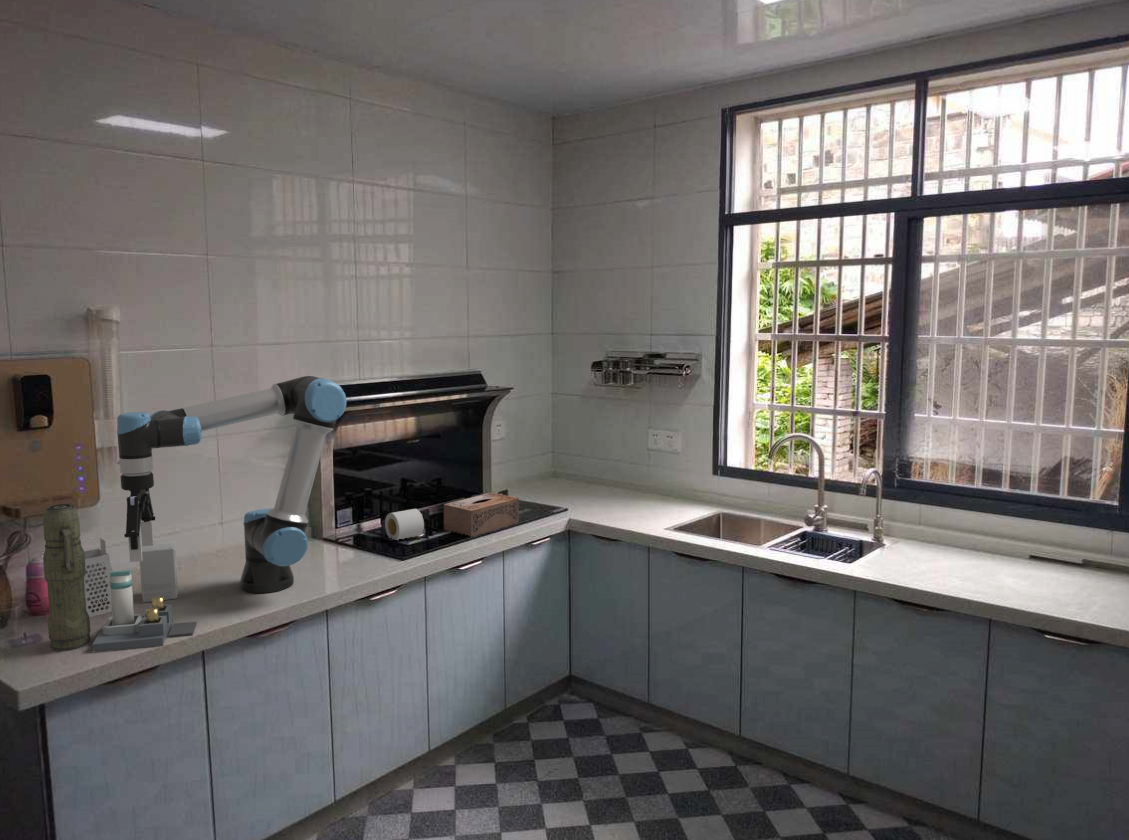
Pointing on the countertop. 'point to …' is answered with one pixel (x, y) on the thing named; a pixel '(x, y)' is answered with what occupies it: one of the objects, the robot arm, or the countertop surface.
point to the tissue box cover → (481, 514)
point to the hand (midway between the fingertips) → (142, 553)
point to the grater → (97, 578)
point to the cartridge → (122, 597)
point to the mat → (182, 629)
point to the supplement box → (159, 571)
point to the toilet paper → (404, 524)
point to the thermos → (65, 579)
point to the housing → (134, 632)
